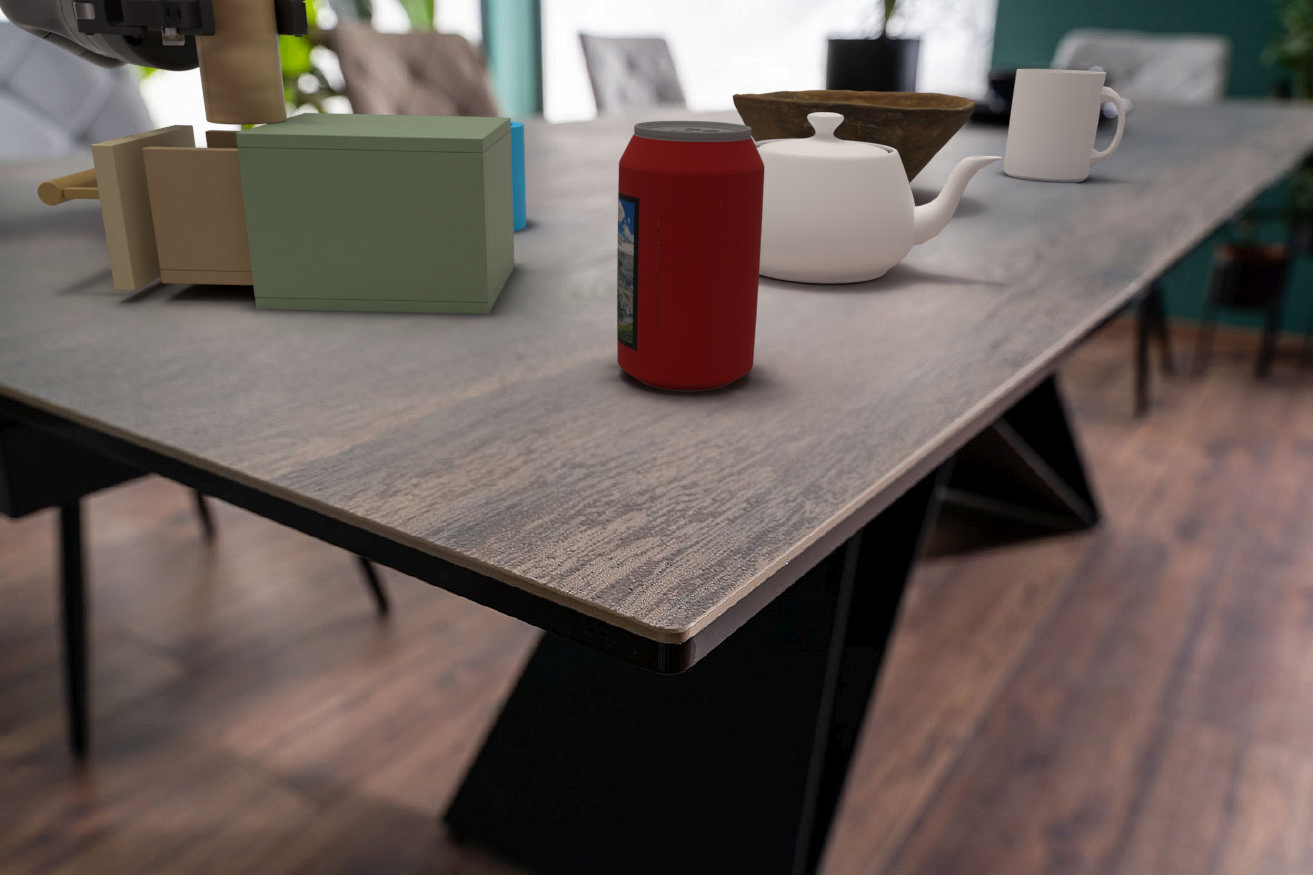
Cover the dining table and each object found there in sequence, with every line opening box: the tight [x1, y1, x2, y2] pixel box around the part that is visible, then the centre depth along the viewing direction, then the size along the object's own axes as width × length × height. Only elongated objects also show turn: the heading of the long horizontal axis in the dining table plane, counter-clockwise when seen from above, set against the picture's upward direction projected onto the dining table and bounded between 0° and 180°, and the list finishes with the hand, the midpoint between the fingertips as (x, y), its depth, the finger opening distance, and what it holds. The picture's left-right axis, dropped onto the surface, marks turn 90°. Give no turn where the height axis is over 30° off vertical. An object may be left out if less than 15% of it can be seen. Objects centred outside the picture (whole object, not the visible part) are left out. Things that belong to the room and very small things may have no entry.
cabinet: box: [236, 112, 515, 315], centre depth 67 cm, size 14×13×10 cm
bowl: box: [732, 89, 977, 185], centre depth 104 cm, size 22×23×10 cm
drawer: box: [37, 124, 253, 291], centre depth 67 cm, size 17×11×8 cm, turn 90°
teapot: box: [754, 112, 1003, 285], centre depth 74 cm, size 22×14×11 cm, turn 76°
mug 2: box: [1003, 68, 1126, 183], centre depth 122 cm, size 10×12×12 cm
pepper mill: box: [195, 0, 288, 126], centre depth 64 cm, size 5×5×9 cm
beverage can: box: [616, 120, 765, 393], centre depth 51 cm, size 7×7×12 cm
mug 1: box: [510, 120, 527, 232], centre depth 89 cm, size 12×8×8 cm
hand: (253, 15), depth 61 cm, fingers closed on pepper mill, 4 cm apart
